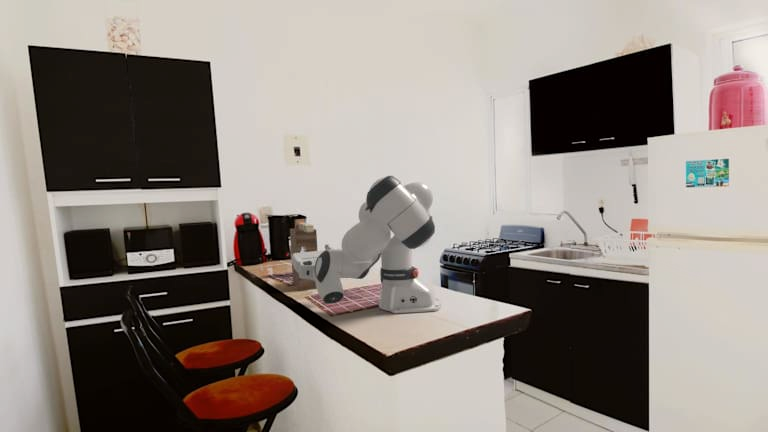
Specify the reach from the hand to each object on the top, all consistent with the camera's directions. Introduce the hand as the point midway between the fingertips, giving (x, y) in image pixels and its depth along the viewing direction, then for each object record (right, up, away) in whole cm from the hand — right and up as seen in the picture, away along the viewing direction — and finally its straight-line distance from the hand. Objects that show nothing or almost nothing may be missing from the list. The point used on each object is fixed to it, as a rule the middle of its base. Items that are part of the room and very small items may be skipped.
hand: (315, 246), depth 164 cm
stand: (-8, -20, +25) cm, 33 cm away
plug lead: (-8, +6, +19) cm, 22 cm away
